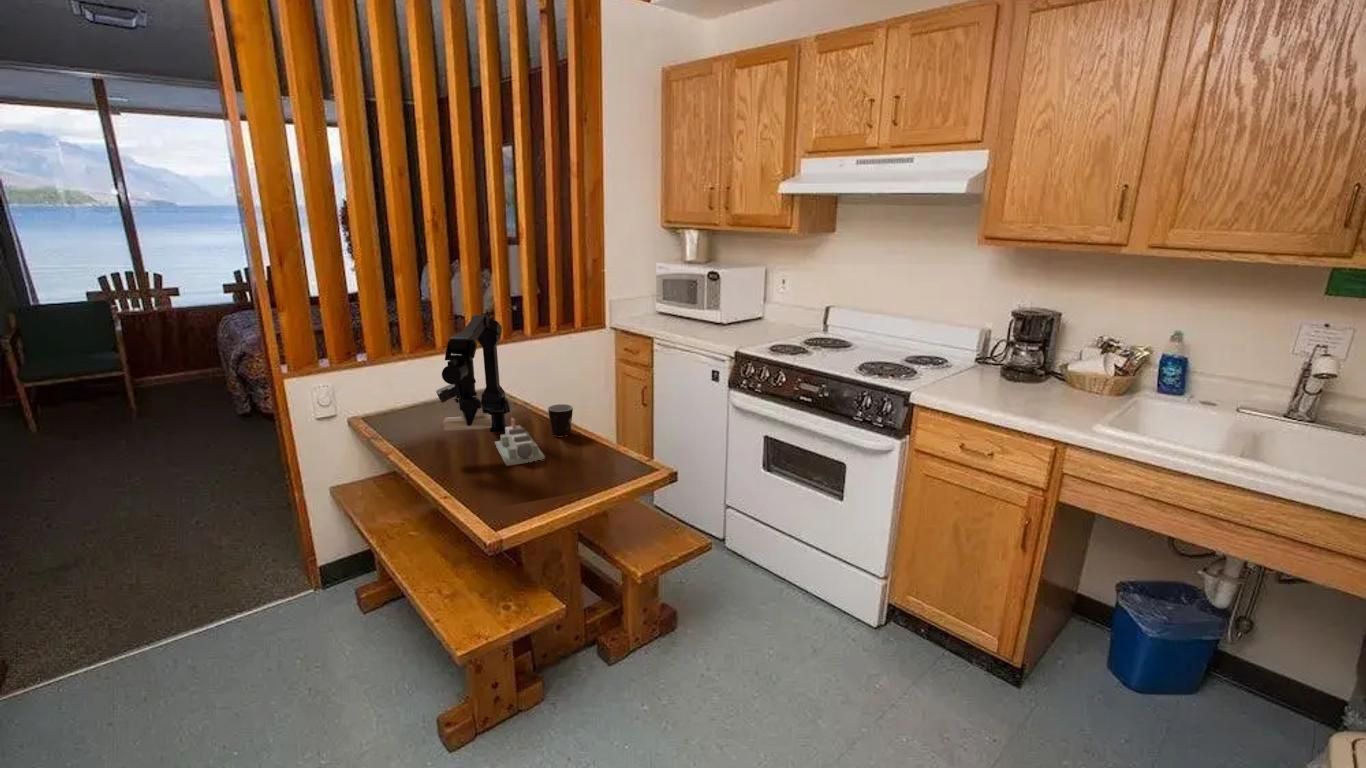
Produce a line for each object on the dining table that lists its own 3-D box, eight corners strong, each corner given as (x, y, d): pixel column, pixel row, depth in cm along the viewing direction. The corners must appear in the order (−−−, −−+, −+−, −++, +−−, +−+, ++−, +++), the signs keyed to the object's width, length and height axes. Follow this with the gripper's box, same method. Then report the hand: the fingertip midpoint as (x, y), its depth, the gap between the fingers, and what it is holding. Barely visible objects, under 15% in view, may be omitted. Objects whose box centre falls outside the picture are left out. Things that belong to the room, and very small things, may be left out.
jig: (495, 444, 206) (493, 419, 204) (530, 439, 212) (529, 414, 209) (507, 467, 188) (505, 439, 186) (545, 460, 194) (544, 433, 191)
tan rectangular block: (445, 426, 193) (445, 417, 192) (491, 423, 196) (491, 414, 196) (444, 430, 189) (443, 421, 188) (491, 427, 193) (490, 418, 192)
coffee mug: (560, 428, 223) (559, 402, 220) (578, 433, 219) (577, 406, 216) (537, 438, 213) (536, 411, 211) (556, 443, 209) (555, 415, 206)
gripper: (433, 371, 193) (438, 418, 197) (439, 386, 177) (444, 436, 181) (470, 368, 198) (473, 413, 202) (479, 382, 182) (483, 431, 186)
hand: (468, 423), depth 193 cm, fingers closed on tan rectangular block, 4 cm apart
